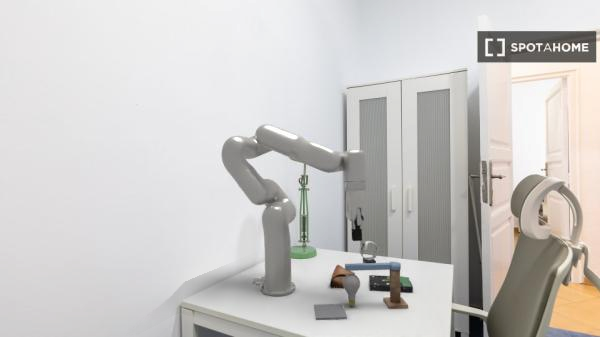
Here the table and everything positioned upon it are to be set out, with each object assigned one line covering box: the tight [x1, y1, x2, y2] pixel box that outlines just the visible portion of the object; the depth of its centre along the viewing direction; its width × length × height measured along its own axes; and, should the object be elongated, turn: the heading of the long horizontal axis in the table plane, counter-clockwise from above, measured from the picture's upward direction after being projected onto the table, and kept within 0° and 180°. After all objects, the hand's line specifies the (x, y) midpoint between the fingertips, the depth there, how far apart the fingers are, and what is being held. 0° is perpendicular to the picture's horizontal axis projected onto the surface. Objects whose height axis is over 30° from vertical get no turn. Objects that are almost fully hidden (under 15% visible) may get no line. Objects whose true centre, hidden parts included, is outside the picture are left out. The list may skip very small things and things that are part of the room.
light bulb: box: [343, 274, 361, 307], centre depth 100 cm, size 6×6×10 cm
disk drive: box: [368, 274, 414, 294], centre depth 115 cm, size 10×3×15 cm
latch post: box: [382, 269, 409, 310], centre depth 100 cm, size 6×6×11 cm
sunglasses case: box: [329, 264, 356, 290], centre depth 122 cm, size 18×7×7 cm
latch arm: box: [344, 261, 402, 272], centre depth 100 cm, size 18×4×2 cm, turn 91°
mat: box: [313, 303, 348, 321], centre depth 95 cm, size 9×9×1 cm
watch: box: [359, 240, 379, 263], centre depth 138 cm, size 6×8×11 cm
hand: (356, 240), depth 106 cm, fingers closed
